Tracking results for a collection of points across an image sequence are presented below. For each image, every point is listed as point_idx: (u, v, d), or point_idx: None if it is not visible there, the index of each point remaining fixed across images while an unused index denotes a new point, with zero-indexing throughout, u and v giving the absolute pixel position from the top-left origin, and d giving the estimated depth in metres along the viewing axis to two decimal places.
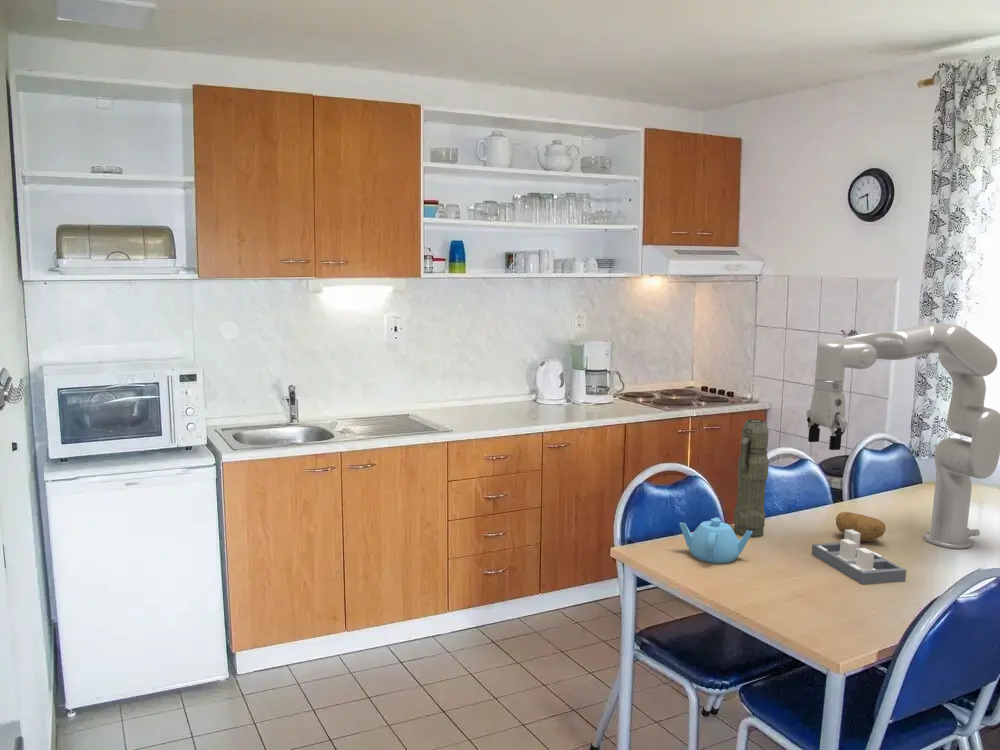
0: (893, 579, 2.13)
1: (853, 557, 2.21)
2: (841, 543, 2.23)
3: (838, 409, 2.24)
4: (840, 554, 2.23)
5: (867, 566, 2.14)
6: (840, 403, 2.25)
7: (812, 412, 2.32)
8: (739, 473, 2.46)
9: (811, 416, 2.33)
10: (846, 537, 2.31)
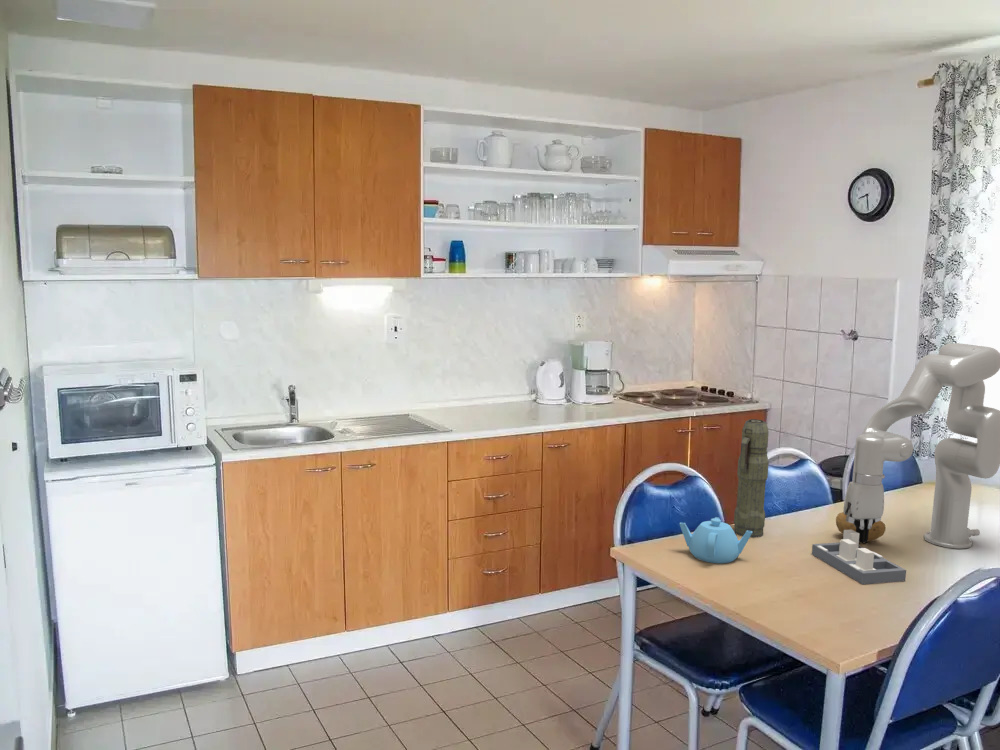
0: (893, 579, 2.13)
1: (853, 557, 2.21)
2: (841, 543, 2.23)
3: None
4: (840, 554, 2.23)
5: (867, 566, 2.14)
6: None
7: (859, 509, 2.27)
8: (739, 473, 2.46)
9: (857, 514, 2.27)
10: (845, 537, 2.31)
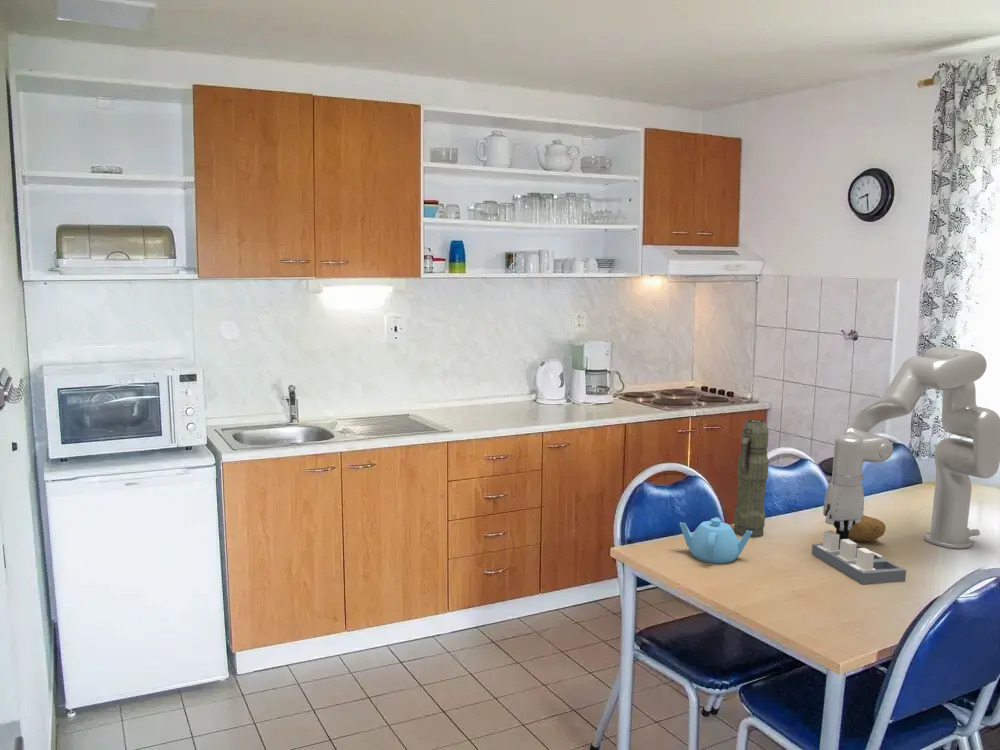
0: (893, 579, 2.13)
1: (853, 557, 2.21)
2: (841, 543, 2.23)
3: None
4: (840, 554, 2.23)
5: (867, 566, 2.14)
6: None
7: (839, 511, 2.25)
8: (739, 473, 2.46)
9: (837, 515, 2.25)
10: (825, 538, 2.29)
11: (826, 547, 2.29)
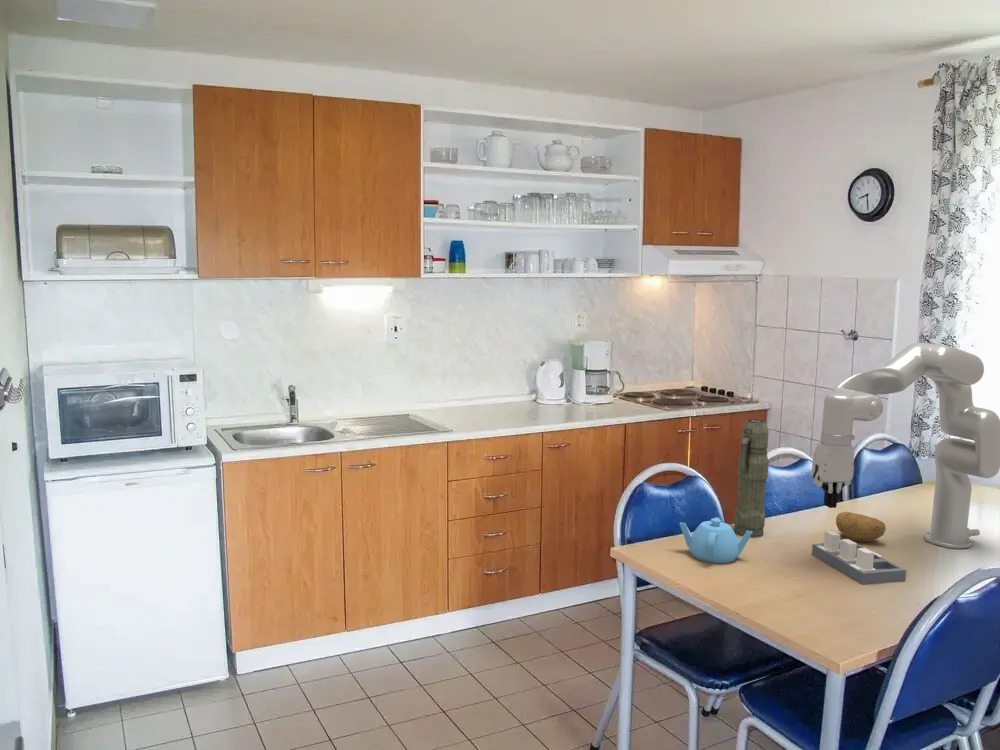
0: (893, 579, 2.13)
1: (853, 557, 2.21)
2: (841, 543, 2.23)
3: None
4: (840, 554, 2.23)
5: (867, 566, 2.14)
6: None
7: (827, 472, 2.15)
8: (739, 473, 2.46)
9: (825, 476, 2.15)
10: (826, 538, 2.29)
11: (827, 547, 2.29)
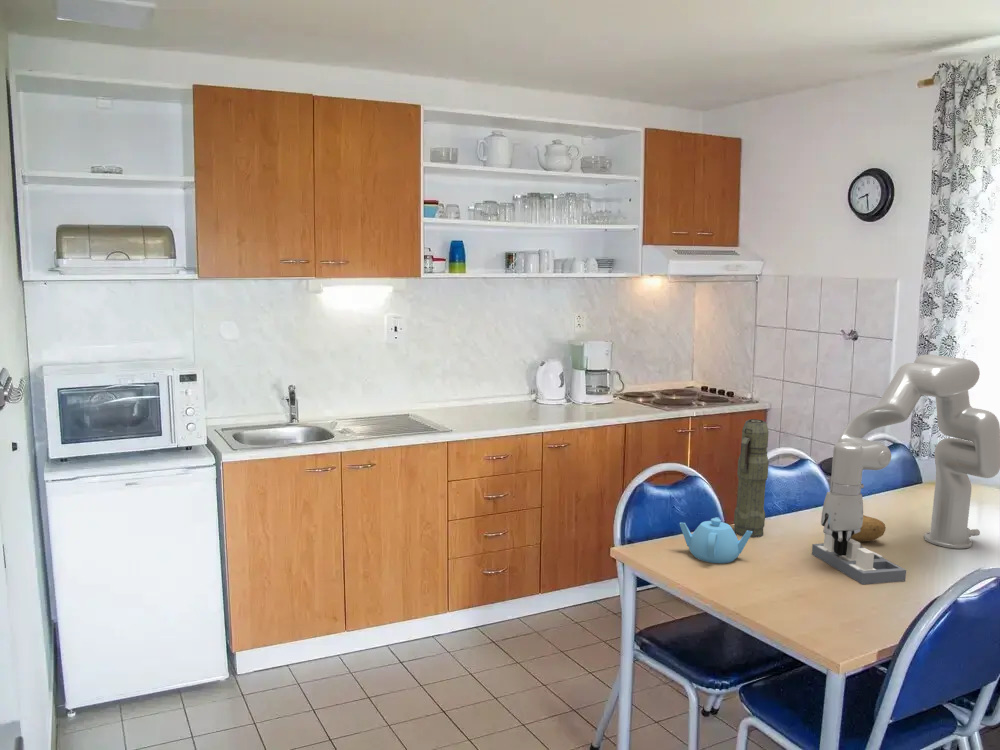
0: (893, 579, 2.13)
1: None
2: None
3: None
4: None
5: (867, 566, 2.14)
6: None
7: (837, 520, 2.17)
8: (739, 473, 2.46)
9: (835, 525, 2.17)
10: (826, 538, 2.29)
11: (827, 547, 2.29)
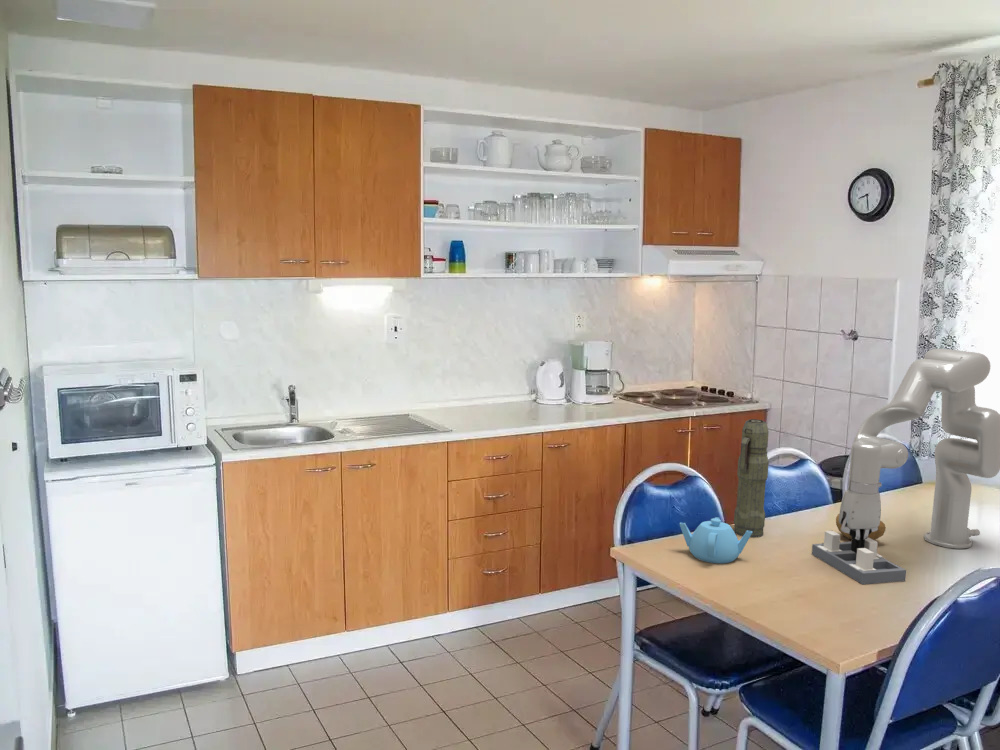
0: (893, 579, 2.13)
1: (874, 555, 2.22)
2: None
3: None
4: None
5: (867, 566, 2.14)
6: None
7: (855, 519, 2.18)
8: (739, 473, 2.46)
9: (853, 523, 2.19)
10: (826, 538, 2.29)
11: (827, 547, 2.29)
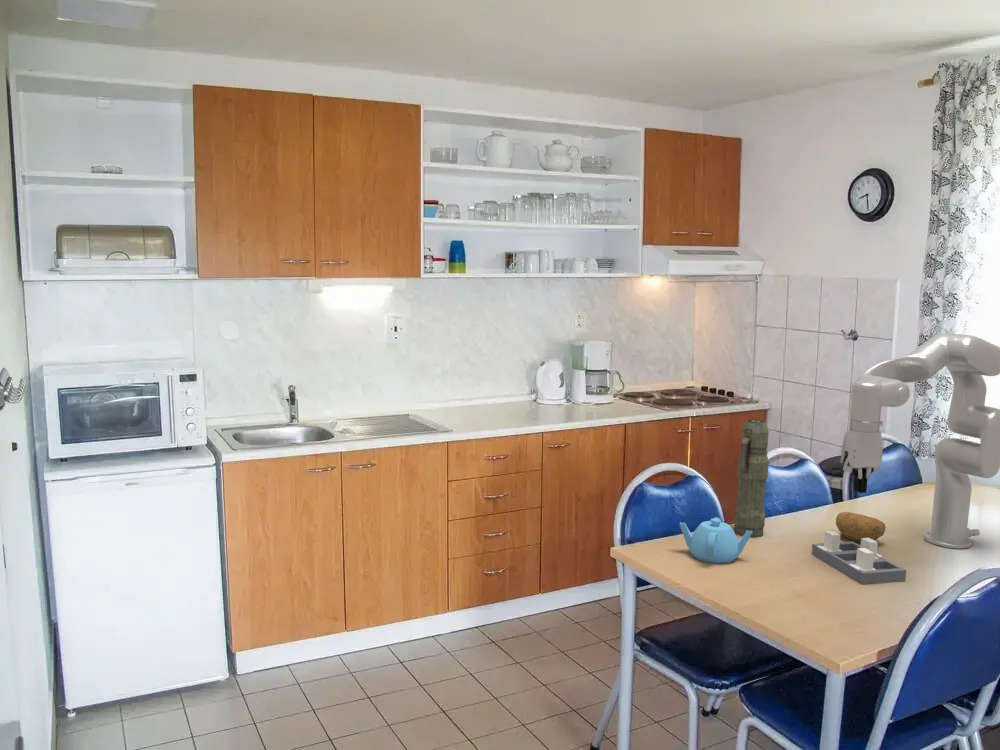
0: (893, 579, 2.13)
1: (874, 556, 2.22)
2: (862, 542, 2.24)
3: None
4: None
5: (867, 566, 2.14)
6: None
7: (857, 458, 2.18)
8: (739, 473, 2.46)
9: (855, 462, 2.19)
10: (826, 538, 2.29)
11: (827, 547, 2.29)
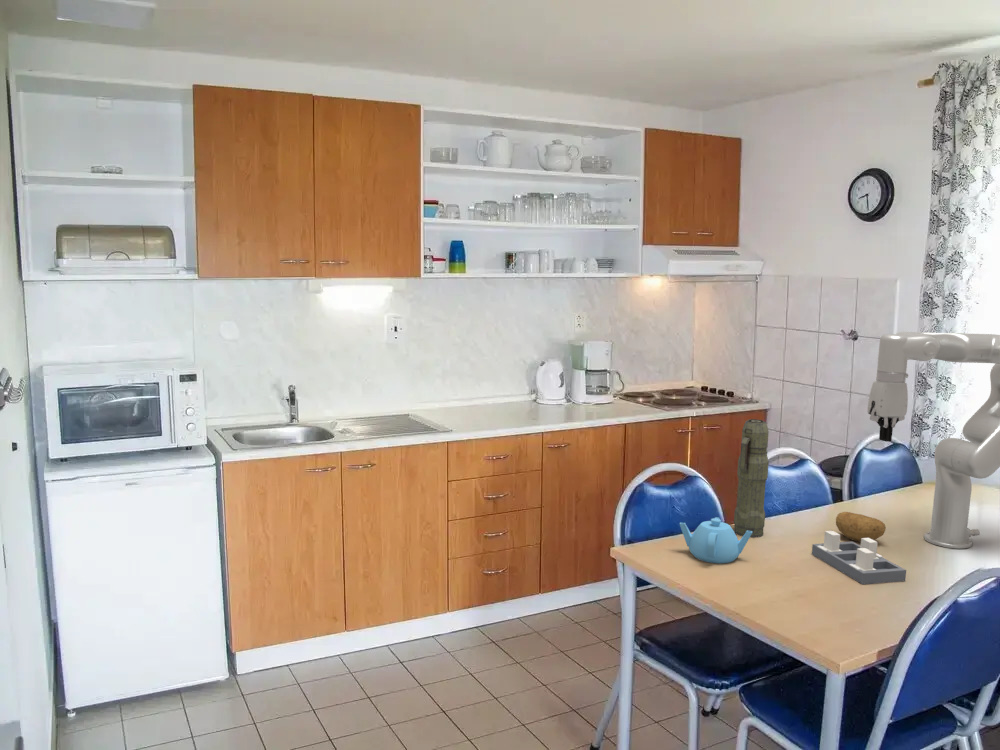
0: (893, 579, 2.13)
1: (874, 556, 2.22)
2: (862, 542, 2.24)
3: None
4: None
5: (867, 566, 2.14)
6: None
7: (883, 407, 2.31)
8: (739, 473, 2.46)
9: (881, 411, 2.31)
10: (826, 538, 2.29)
11: (827, 547, 2.29)
